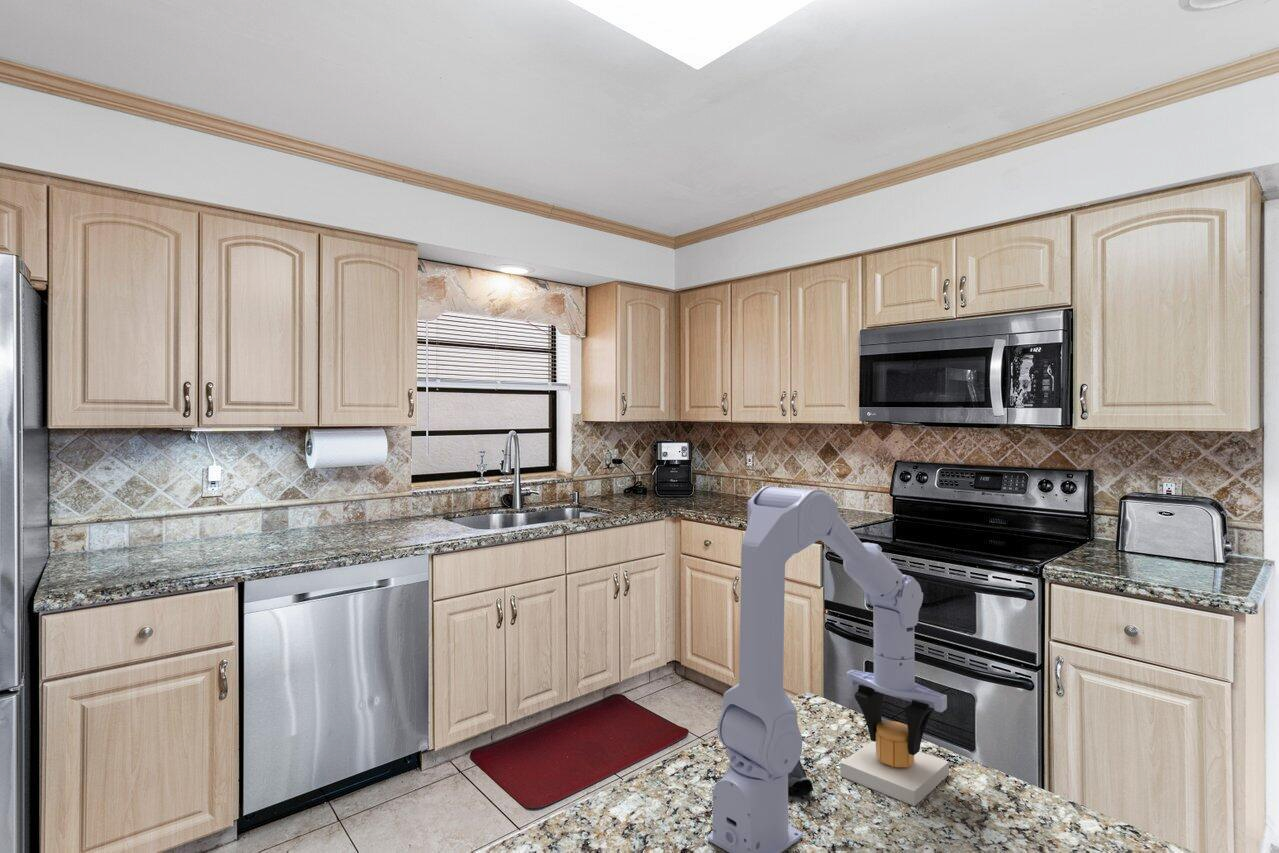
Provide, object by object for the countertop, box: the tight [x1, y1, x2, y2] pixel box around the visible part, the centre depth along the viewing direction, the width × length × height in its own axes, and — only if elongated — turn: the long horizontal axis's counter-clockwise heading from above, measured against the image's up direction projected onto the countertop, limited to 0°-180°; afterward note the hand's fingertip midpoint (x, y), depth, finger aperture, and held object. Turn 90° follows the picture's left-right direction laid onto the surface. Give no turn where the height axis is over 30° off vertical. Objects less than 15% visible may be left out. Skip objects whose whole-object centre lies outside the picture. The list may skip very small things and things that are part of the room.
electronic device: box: [788, 759, 814, 798], centre depth 97 cm, size 9×6×15 cm
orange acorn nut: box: [876, 720, 914, 767], centre depth 96 cm, size 5×5×4 cm
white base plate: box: [839, 741, 950, 807], centre depth 96 cm, size 12×11×5 cm
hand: (894, 745), depth 96 cm, fingers open, 5 cm apart
